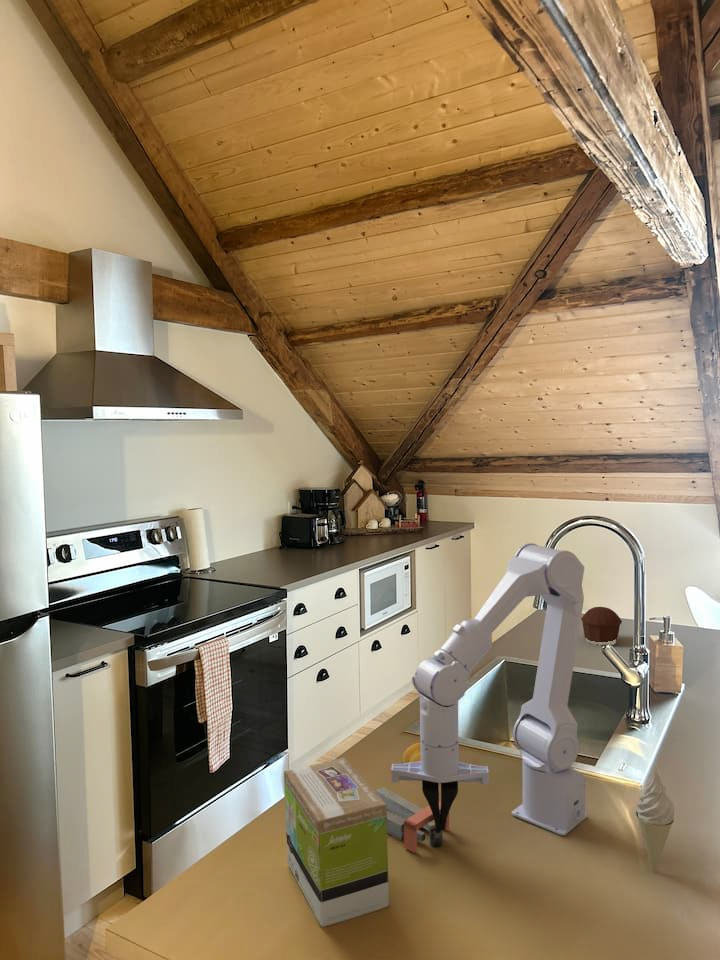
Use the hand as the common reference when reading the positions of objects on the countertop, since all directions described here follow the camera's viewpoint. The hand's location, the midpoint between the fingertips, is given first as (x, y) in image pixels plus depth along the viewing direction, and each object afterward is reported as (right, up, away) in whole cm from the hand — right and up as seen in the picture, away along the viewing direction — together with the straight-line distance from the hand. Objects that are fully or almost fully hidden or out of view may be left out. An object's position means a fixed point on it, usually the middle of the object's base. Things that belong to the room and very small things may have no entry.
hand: (440, 826), depth 110 cm
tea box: (-16, -4, -9) cm, 18 cm away
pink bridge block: (-2, -3, +2) cm, 4 cm away
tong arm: (-4, -2, +8) cm, 10 cm away
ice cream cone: (+30, -3, -7) cm, 31 cm away
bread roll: (0, -2, +26) cm, 26 cm away
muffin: (+58, +5, +102) cm, 117 cm away
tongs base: (-6, -3, +5) cm, 8 cm away
